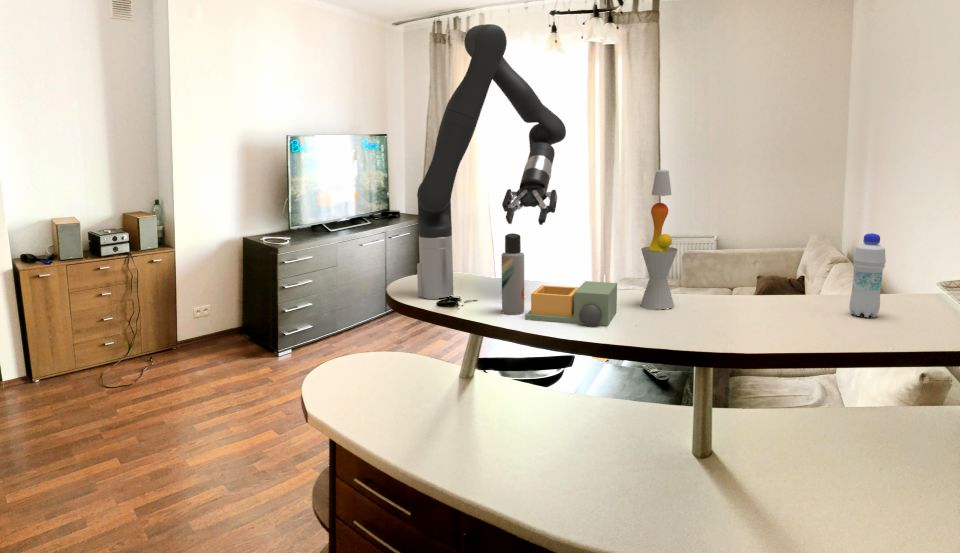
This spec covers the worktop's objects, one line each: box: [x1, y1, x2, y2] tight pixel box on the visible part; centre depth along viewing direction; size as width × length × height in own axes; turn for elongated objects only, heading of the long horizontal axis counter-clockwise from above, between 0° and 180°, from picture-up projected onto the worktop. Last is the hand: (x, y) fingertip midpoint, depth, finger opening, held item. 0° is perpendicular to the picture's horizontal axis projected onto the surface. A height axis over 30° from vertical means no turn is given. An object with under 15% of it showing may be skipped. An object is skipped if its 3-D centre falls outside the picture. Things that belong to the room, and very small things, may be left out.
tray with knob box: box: [524, 280, 618, 328], centre depth 161 cm, size 20×16×8 cm
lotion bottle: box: [501, 232, 525, 315], centre depth 165 cm, size 6×6×20 cm
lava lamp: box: [639, 169, 678, 310], centre depth 167 cm, size 9×9×35 cm
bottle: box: [849, 232, 887, 318], centre depth 156 cm, size 7×7×20 cm
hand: (524, 222), depth 172 cm, fingers open, 8 cm apart
